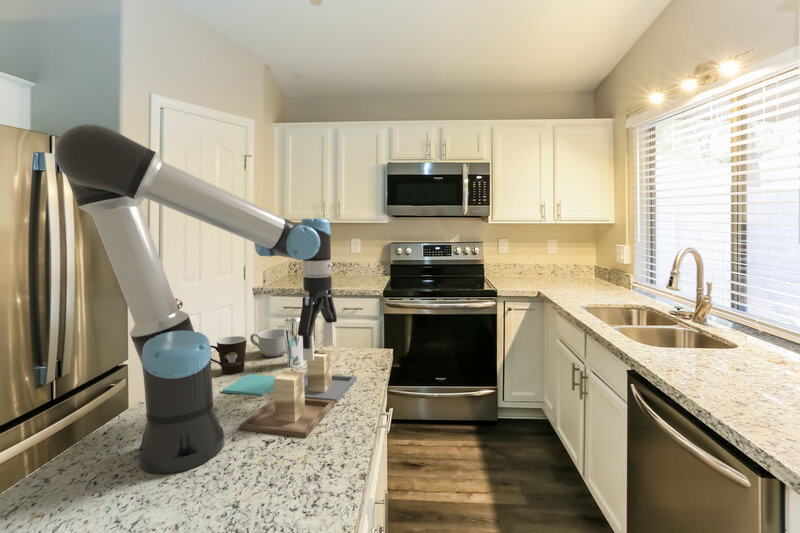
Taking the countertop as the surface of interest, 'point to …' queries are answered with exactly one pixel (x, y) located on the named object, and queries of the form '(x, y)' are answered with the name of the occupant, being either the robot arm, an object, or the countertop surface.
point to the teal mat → (251, 385)
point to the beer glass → (293, 342)
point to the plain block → (289, 396)
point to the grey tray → (331, 388)
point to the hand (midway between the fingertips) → (319, 351)
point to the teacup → (270, 342)
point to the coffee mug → (231, 354)
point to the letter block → (319, 371)
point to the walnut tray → (300, 428)
